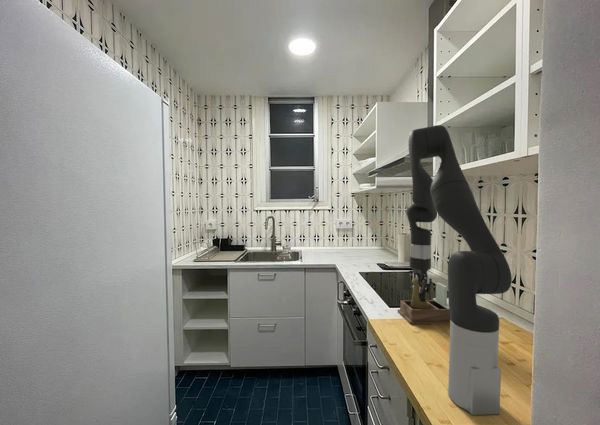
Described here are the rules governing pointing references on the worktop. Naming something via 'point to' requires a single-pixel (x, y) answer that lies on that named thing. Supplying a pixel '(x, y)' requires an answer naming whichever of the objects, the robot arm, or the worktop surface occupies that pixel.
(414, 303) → the olive rounded piece
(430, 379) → the worktop surface
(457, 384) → the robot arm
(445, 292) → the lid
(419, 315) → the caddy
